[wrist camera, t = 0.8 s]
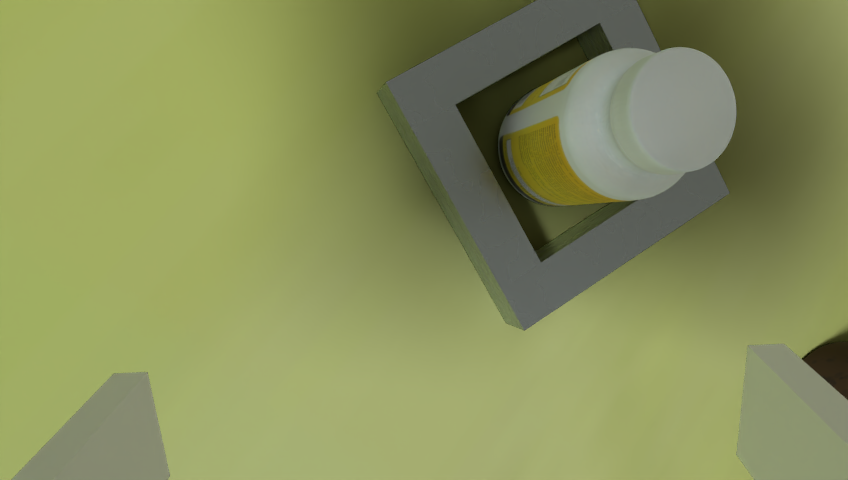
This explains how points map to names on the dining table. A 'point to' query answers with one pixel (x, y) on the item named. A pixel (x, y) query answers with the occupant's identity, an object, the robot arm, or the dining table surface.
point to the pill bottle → (618, 127)
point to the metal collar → (476, 185)
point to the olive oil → (831, 365)
